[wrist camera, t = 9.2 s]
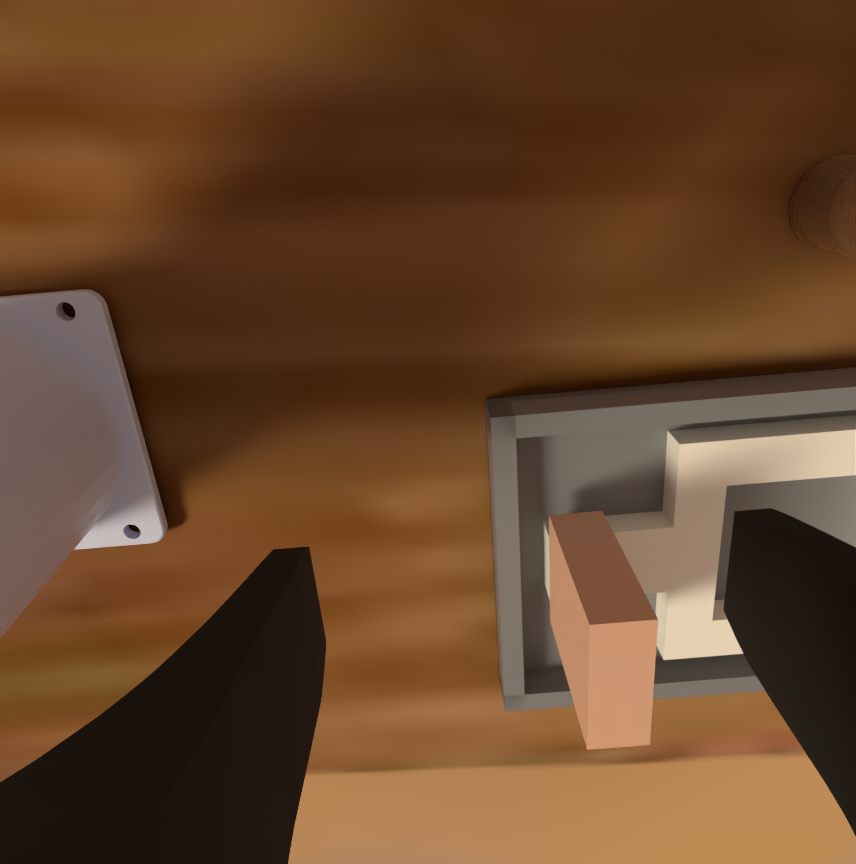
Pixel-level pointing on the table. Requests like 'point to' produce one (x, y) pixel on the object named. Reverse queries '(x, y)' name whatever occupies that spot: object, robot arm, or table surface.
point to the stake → (827, 206)
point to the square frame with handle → (666, 566)
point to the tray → (633, 502)
